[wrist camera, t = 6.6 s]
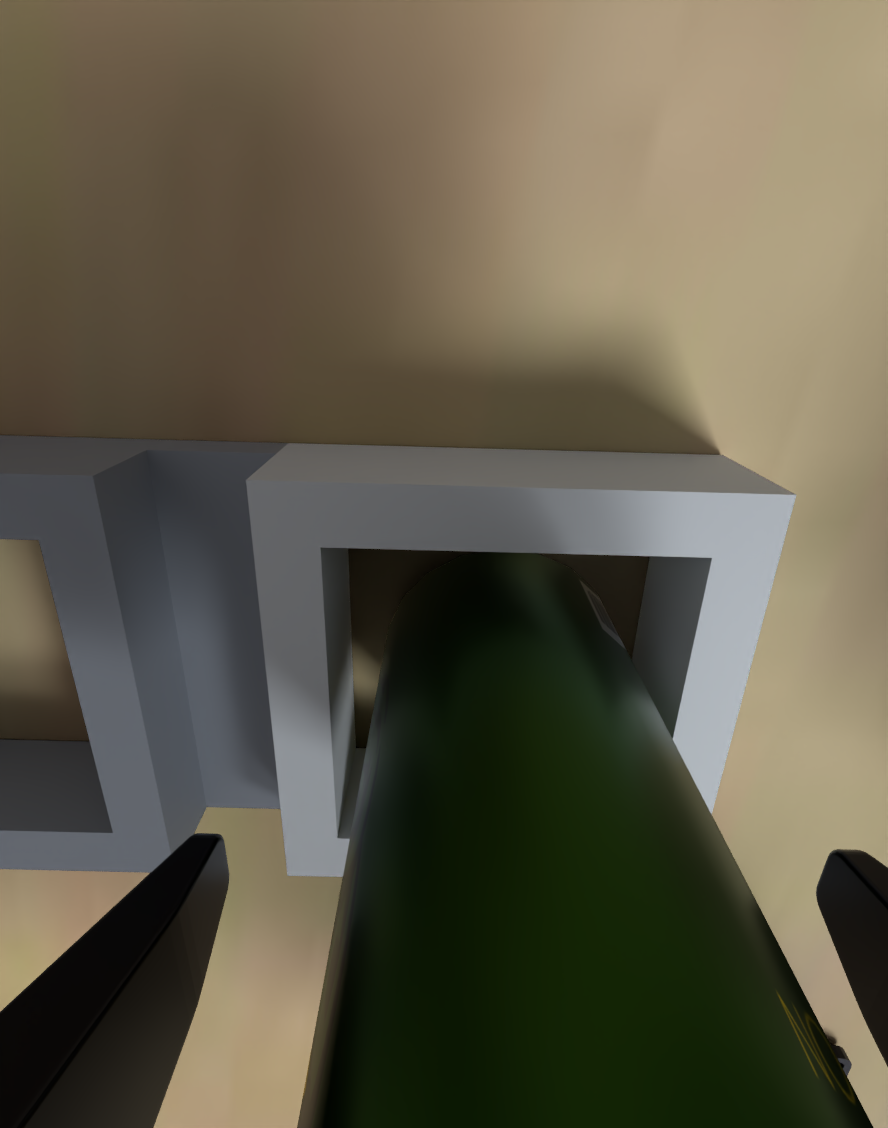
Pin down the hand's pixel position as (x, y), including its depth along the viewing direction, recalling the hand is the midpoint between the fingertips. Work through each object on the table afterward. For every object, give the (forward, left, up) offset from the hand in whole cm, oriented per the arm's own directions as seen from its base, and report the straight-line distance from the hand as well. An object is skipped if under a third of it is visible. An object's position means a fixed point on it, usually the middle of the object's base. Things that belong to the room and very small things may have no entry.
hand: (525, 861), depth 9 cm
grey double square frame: (+6, 0, -6) cm, 9 cm away
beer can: (0, 0, -7) cm, 7 cm away
